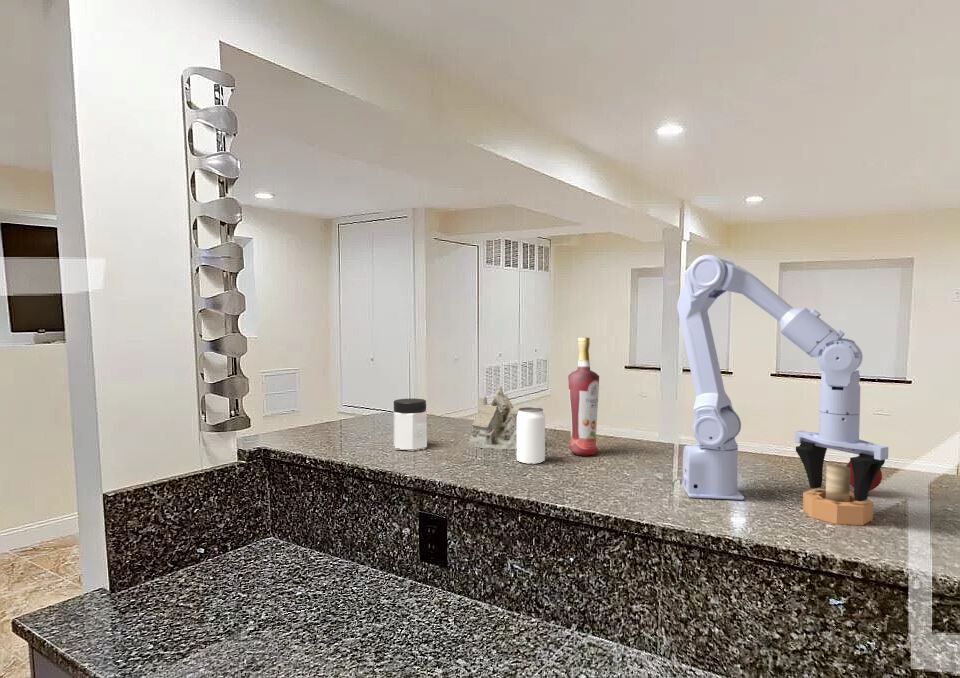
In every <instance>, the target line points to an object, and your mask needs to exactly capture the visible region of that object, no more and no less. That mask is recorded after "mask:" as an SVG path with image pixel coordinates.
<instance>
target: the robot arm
mask: <svg viewBox="0 0 960 678" xmlns="http://www.w3.org/2000/svg"><path fill="white" fill-rule="evenodd" d="M683 273H684V280H683V281H684V282H683V284H682V287H681V291H680V292H679V293H680V294H679V297H678V300H677V303H676V305H677V307H676V308H677V309H676V310H677V313H678V317H679V318H678V319H679V323H680V327H681V332H682V337H683V341H684V346H685V351H686V355H687V361H688V365H689V369H690V374H691V375H690V376H691V379H692V383H693V388H694V393H695V399H694V404H693V414H694V420H693V423H692V427H691V428H692V429H691V431H692V434H693V437H694V439H695V440H696V441H695V444H692V445H691V444H689V445H685V446H684V447H683V452H682V483H681V486H682V487H683V489H684V491H685V493H686V494H687V495H688V497H689V498H696V499H697V498H698V499H699V498H700V499H719V500H720V499H721V500H745V497H744V495H743V494H742V493H741V492H740V491H739V490H738V464H739V463H738V460H739V457H738V456H739V455H738V453H739V450H738V448H739V445H738V443H737V441H736V437H738V435H739V434H740V432H741V429H742V421H741V418H740V416H739V414H737V412H736V411H735V410H734V408H733V405H732V404H733V403H732V400H731V399H730V397H729V396H728V394H727V393H726V390H725V385H724V380H723V378H722V372H721V368H720V363H719V359H718V354H717V349H716V344H715V340H714V336H713V332H712V330H713V329H712V326H711V323H710V317H709V312H708V310H709V309H710V308H711V306H712V305H713V304H714V302H715V301H716V300H717V299H718V297H720V296H722V295H723V294H725V293H726V292H731V293H735V294H736V293H737V294H741V295H743V296H744V297H746V299H748V300H750V302H752V303H754V304H755V305H756V306H758V307H759V308H760V309H762V310H764V312H766V313H767V314H768V315H770V316H771V317H772V318H774V319H775V320H777V321H778V322H779V324H780V333H781V334H782V335H783V336H784V337H786V338H787V339H788V340H789V341H791V342H792V343H793V344H794V345H795V346H797V347H798V348H799V349H801V351H803V352H804V353H806V355H808V356H809V357H811V358H816V361H817V362H816V363H817V365H818V367H819V368H820V369H821V375H820V376H821V379H820V382H821V383H819V410H818V411H819V413H818V414H819V415H818V416H819V418H818V432H812V431H808V430H807V431H806V430H796V431H794V443H795V444H796V443H797V444H799V445H798V446H795V452H796V454H797V455H798V456H799V458H800V460H801V463H802V464H803V467H804V470H805V473H806V476H807V480H808V484H809V488H810V489H821V488H822V485H823V468H824V462H825V457H826V452H827V450H828V449H830V450H835V451H838V452H843V453H849V454H853V455H857V456H859V457H857V456H854V457H850V458H849V461H851V465H852V469H853V474H854V488H853V493H854V498H855V500H856V501H864V500H867V499H868V496H869V492H870V491H869V490H870V487H871V484H872V482H873V480H874V478H875V476H876V474H877V473H878V471H879V470H880V469H881V468H882V467H883V466H884V464H885V462H886V460H889V446H886V445H881V444H877V443H873V442H870V441H866V440H863V439H860V420H861V419H860V418H861V416H860V415H861V414H860V413H861V385H860V380H861V375H860V370H857V369H858V368H860V366H861V365H862V362H863V352H862V349H861V348H860V347H859V346H858V344H856V342H855V341H854V340H852V339H849V338H843V337H844V336H845V334H846V333H845V332H843V330H838V331H837V330H835V328H834V327H832V326H830V325H829V324H828V323H826V321H824V320H823V319H821V318H820V316H821V315H822V314H821V313H820V312H818V311H817V310H816V309H812V310H810V309H809V308H807V307H800V308H794V307H793V306H791V304H790V303H788V302H787V301H785V299H783V298H782V297H780V295H778V294H777V293H776V292H775V291H773V290H772V289H771V288H770V287H769V286H767V285H766V284H765V283H764V282H763V281H762V280H760V279H759V278H758V277H757V276H756V275H754V274H753V273H751V272H750V271H748V270H746V269H745V268H743V267H741V266H740V265H736V264H735V263H734V262H733V261H732V260H730V259H728V258H723V257H721V258H720V257H717V256H716V255H713V254H704V255H701V256H698V257H697V258H696V259H694V260H693V262H692V263H691V264H690V265H689V266H688V267H687V269H686V270H685V271H684V272H683Z"/></svg>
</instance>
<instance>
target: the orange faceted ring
mask: <svg viewBox="0 0 960 678" xmlns="http://www.w3.org/2000/svg"><path fill="white" fill-rule="evenodd" d="M802 495H803V496H802V511H804V513H806V515H808V516H809V517H810V518H812V519H815V520H820V521H824V522H828V523H831V524H835V525H847V524H848V526H865V525H866V524H865V523H867V522H869V521H871V520H873V519H874V501H873V500H870V498H867V500H864V501H856V500H855V498H854V492H850V499H849V502H836V501H832V500H828V499H825V498H826V488H815V489H813V488H811V489H809V490H806V491H803V493H802ZM871 522H872V521H871ZM869 523H870V522H869ZM849 524H850V525H849ZM864 524H865V525H864ZM867 524H868V523H867Z"/></svg>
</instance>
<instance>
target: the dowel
mask: <svg viewBox="0 0 960 678" xmlns="http://www.w3.org/2000/svg"><path fill="white" fill-rule="evenodd" d="M825 470H826V471H825V475H826V476H825V489H826V498H825V499H828V500H832V501H836V502H849V499H850V493H851V492H850V491H851V485H850V470H851V469H850V468H848V467H846V465H845V466H843V465H836V464H828V465H826V469H825Z"/></svg>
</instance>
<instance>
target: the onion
mask: <svg viewBox="0 0 960 678" xmlns="http://www.w3.org/2000/svg"><path fill="white" fill-rule="evenodd" d="M856 457H859V455H857V456H856ZM845 467H848V468H850V469H851V470H850V487H852V488H853V489H854V474H853V469H852V465H851V461H850V460H849V461H848V462H847V465H845ZM882 480H883V473H882V469H881V468H880V470H879V471H878V473H877V474H876V476H875V478H874V480H873V482H872V484H871V487H870V490H869V492H871V491H873V490H874V489H876V488H877V487H879V485H880V484H881V483H882Z"/></svg>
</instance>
